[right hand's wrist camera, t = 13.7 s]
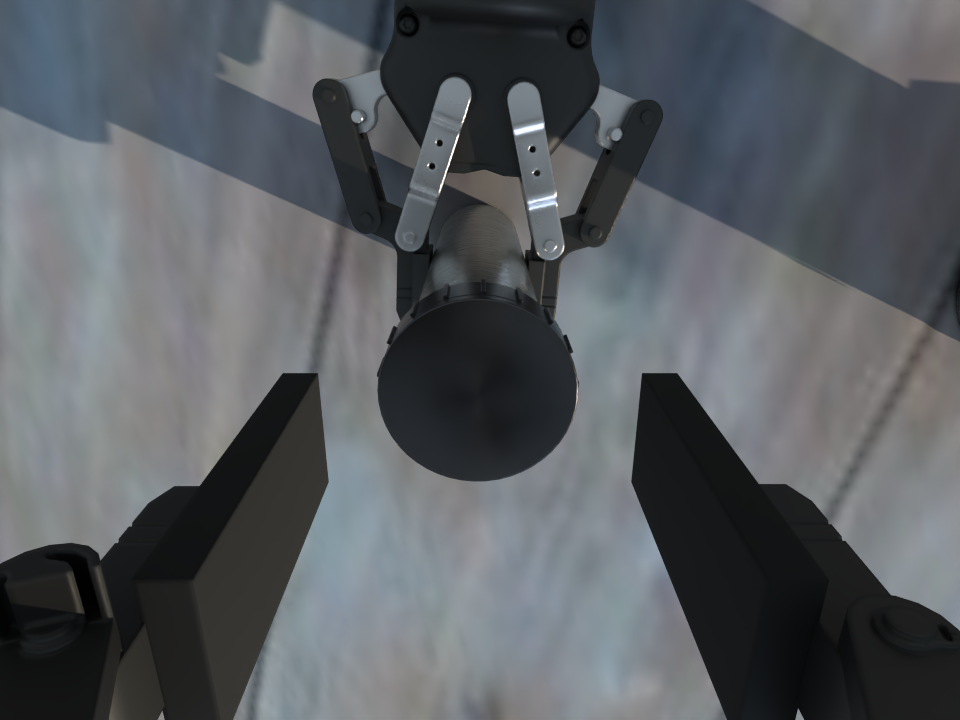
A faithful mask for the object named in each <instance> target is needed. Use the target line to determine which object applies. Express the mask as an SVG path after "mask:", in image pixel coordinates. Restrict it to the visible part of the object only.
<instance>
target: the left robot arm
mask: <svg viewBox="0 0 960 720" xmlns="http://www.w3.org/2000/svg"><path fill="white" fill-rule="evenodd" d="M594 9H595V0H395V6H394V31H393V36H392V40H391V43H390V45H389V48H388V50H387V51H386V53H385V55H384V57H383V59H382V62H381V66H380V69H378V70H375V71H371V72H367V73H364V74H360V75H356V76H353V77H349V78H345V79H342V80H338V79H332V78H330V79H322V80H320V81H319V82H317V83H316V85H315V86H314V89H313V100H314V103H315V106H316V110H317V113H318V116H319V119H320V122H321V125H322V129H323V132H324V135H325V138H326V141H327V144H328V148H329V151H330V154H331V157H332V160H333V164H334V167H335V170H336V173H337V176H338V179H339V183H340V186H341V189H342V192H343V195H344V199H345V202H346V205H347V208H348V211H349V214H350V218H351V221H352V224H353V226H354V227H355V228H356V229H357V230H358V231H359V232H361V233H365V234H369V233H372V234H375V235H377V236H379V237H382V238H384V239H386V240H388V241H389V242H391V243H392V244H393V246H394V247H395V249H396V251H397V306H396V310H397V313H398V316H399V318H400V321H401V320H402V318H403V317H404V316H405V314H406V313H407V312H408V311H409V310H410V309H411V308H412V306H413V303H414V301H416V300H417V301H418V302H419V299H420V296H421V293H422V290H423V286H424V283H425V280H426V277H427V273H428V270H429V267H430V264H431V260H432V257H433V244H429V227H430V224H431V221H432V218H433V215H434V212H435V209H436V206H437V203H438V200H439V197H440V194H441V191H442V188H443V185H444V182H445V179H446V176H447V173H448V172H451V173H469V172H474V171H478V170H488V171H491V172H494V173H497V174H500V175H502V176H511V177H519V181H520V186H521V191H522V196H523V200H524V204H525V209H526V214H527V219H528V225H529V230H530V235H531V239H532V240H531V250H526V252H525V262H526V265H527V269H528V272H529V275H530V279H531V282H532V285H533V289H534V292H535V295H536V299H537V302H538V303H540V304H541V305H542V306H543V307H544V308H546V307H548V308H549V309H550V312H551V315H552V317H553V318H554V320H555V312H556V303H557V294H558V285H559V276H560V267H561V263H562V261H563V259H564V257H565V256H566V255H567V254H569V253H570V252H572V251H575V250H578V249H582V248H585V247H599V246H601V245H603V244H604V243H605V242H606V241H607V240H608V238H609V236H610V233H611V231H612V229H613V227H614V225H615V222H616V220H617V218H618V216H619V214H620V211H621V209H622V207H623V205H624V203H625V201H626V198H627V196H628V194H629V192H630V190H631V187H632V185H633V183H634V181H635V179H636V177H637V174H638V172H639V170H640V168H641V166H642V163H643V161H644V159H645V157H646V155H647V152H648V150H649V148H650V146H651V144H652V142H653V139H654V137H655V135H656V133H657V131H658V128H659V126H660V124H661V122H662V118H663V112H662V109H661V107H660V105H659V104H658V103H657V102H655V101H653V100H635V99H633V98H630V97H628V96H626V95H623V94H621V93H619V92H616V91H614V90H612V89H609V88H607V87H605V86H602V85H600V81H599V74H598V71H597V69H596V66H595V64H594V61H593V56H592V50H591V36H592V27H593V18H594ZM386 95H387V96H388V97H389V99H390V100H391V102H392V103H393V105H394V107H395V108H396V110H397V111H398V113H399V114H400V116H401V118H402V119H403V121H404V122H405V124H406V126H407V127H408V129H409V130H410V132H411V133H412V135H413V137H414V138H415V140H416V141H417V143H418V144H419V146H420V148H421V151H420V154H419V157H418V160H417V163H416V167H415V170H414V173H413V176H412V179H411V182H410V186H409V190H408V194H407V198H406V201H405V204H404V207H403V209H402V208H400V207H398V206H395V205H393V204H391V203H388V202H387V201H386V198H385V194H384V191H383V188H382V184H381V181H380V177H379V174H378V170H377V167H376V164H375V160H374V157H373V153H372V150H371V146H370V143H369V140H368V136H367V133H366V132H368V131H371V130H372V129H373V128H374V127H375V126H376V125H377V122H378V104H379V102H380V100H381V99H382V98H383V97H384V96H386ZM589 109H590V110H591V111H592V112H593V113H594V115H595V117H596V128H595V132H594V136H595V140H596V142H597V143H598V144H599V145H600V146H601V147H603V148H604V149H603V151H602V154H601V156H600V158H599V160H598V163H597V165H596V167H595V170H594V172H593V174H592V177H591V179H590V181H589V184H588V186H587V188H586V191H585V193H584V195H583V197H582V200H581V202H580V204H579V207H578V209H577V211H576V214H574V215H571V216H567V217H564V218H560V216H559V210H558V205H557V193H556V187H555V182H554V176H553V170H552V165H551V159H550V156H551V155H552V153H553V152H554V151H555V150H556V148H557V147H558V146H559V145H560V144H561V142H562V141H563V140H564V139H565V138H566V136H567V135H568V134H569V133H570V132H571V130H572V129H573V128H574V127H575V126H576V124H577V123H578V122H579V121H580V120H581V118H582V117H583V116H584V115H585V113H586V112H587V111H588V110H589ZM957 314H958V319H959V323H960V282H959V286H958V291H957Z"/></svg>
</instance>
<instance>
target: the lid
mask: <svg viewBox="0 0 960 720" xmlns="http://www.w3.org/2000/svg"><path fill="white" fill-rule="evenodd" d="M387 344H389V346H388V348H387V351H386V354H385V356H384V357H383V360H382V362H381V365H380V367H379V370H378V373H377V377H379V378H378V402H379V407H380V411H381V415H382V417H383V420H384V423H385V425H386V427H387V429H388V431H389V433H390V434H391V436H392V438H393V439H394V440H395V442H396V443H397V444H398V446H399V447H400V448H401V449H402V450H403V451H404V452H405V453H406V454H407V455H408V456H409V457H411V458H412V459H413V460H414V461H416V462H417V463H419V464H420V465H422V466H423V467H425V468H427V469H429V470H431V471H433V472H435V473H437V474H440V475H443V476H446V477H449V478H453V479H458V480H464V481H491V480H499V479H503V478H507V477H510V476H513V475H516V474H518V473H521V472H523V471H525V470H527V469H529V468H531V467H533V466H534V465H536V464H537V463H539V462H540V461H542V460H543V459H544V458H545V457H546V456H547V455H549V454H550V453H551V452H552V451H553V450H554V449H555V447H556V446H557V445H558V444H559V443H560V441H561V440H562V438H563V437H564V436H565V434H566V433H567V430H568V428H569V426H570V424H571V422H572V420H573V417H574V414H575V411H576V405H577V400H578V386H579V382H578V379H577V374H576V370H575V366H574V362H573V360H572V357H571V354H570V353H573V350H572V348H571V345H570V342H569V340H568V337H567V335H564V336H563V334H562V331H561V329H560V328H559V326H558V324H557V323H556V321H555V320H554V318H553V317H552V315H551V312H550V309H549V308H548V307H546V308H544V307H543V306H542V305H541V304H540V303H538V302H537V301H535V300H534V299H533V298H531V297H530V296H528V295H526V294H524V293H523V292H521V288H519V287H517V288H516V289H514V288H511V287H508V286H505V285H501V284H497V283H490V282H485V279H481V282H466V283H459V284H455V285H451V286H449V283H448V284H445V286H444V288H442V289H440V290H437V291H435V292H433V293H431V294H430V295H428V296H426V297H425V298H423V299H422V300H420V301H419V302H418V301H417V300H416V301H414V303H413V306H412V308H411V309H410V310H409V311H408V312H407V313H406V314H405V316H404V317H403V318H402V320H401V321H400V322H399V324H398V326H397V327H395V326H393V328H392V330H391V333H390V336H389V338H388V341H387Z"/></svg>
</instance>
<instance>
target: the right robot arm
mask: <svg viewBox="0 0 960 720" xmlns="http://www.w3.org/2000/svg"><path fill="white" fill-rule="evenodd" d="M328 482H329V481H328V471H327V461H326V451H325V441H324V431H323V420H322V410H321V400H320V390H319V380H318V373H283V374H282V375H281V376H280V378H279V379H278V381H277V382H276V383H275V385H274V386H273V387H272V389H271V390H270V391H269V393H268V394H267V395H266V397H265V398H264V400H263V401H262V402H261V404H260V405H259V406H258V408H257V409H256V410H255V412H254V413H253V414H252V416H251V417H250V419H249V420H248V421H247V423H246V424H245V425H244V427H243V428H242V429H241V431H240V432H239V433H238V435H237V436H236V438H235V439H234V440H233V442H232V443H231V444H230V446H229V447H228V448H227V450H226V451H225V453H224V454H223V455H222V457H221V458H220V459H219V461H218V462H217V463H216V465H215V466H214V467H213V469H212V470H211V472H210V473H209V474H208V476H207V477H206V478H205V480H204V481H203V482H202V484H201V485H200V486H174V487H173V488H171V489H169V490H168V491H166V492H165V493H163V494H162V495H160V496H159V497H157V498H156V499H154V500H153V501H151V502H150V503H148V504H147V506H146V507H145V508H144V509H143V510H142V512H141V513H140V514H139V515H138V516H137V518H136V519H135V520H134V521H133V522H132V527H128V528H127V530H126V531H125V532H124V533H123V534H122V536H121V537H120V538H119V542H118V543H115V544H114V545H113V546H112V548H111V549H110V550H109V551H108V552H107V554H106V555H105V556H104V557H103V558H102V560H101V561H100V558H99V554H98V553H97V552H96V551H94V550H93V549H92V548H91V547H89V546H86V545H80V544H74V543H66V544H55V545H48V546H44V547H41V548H37V549H34V550H30V551H27V552H24V553H22V554H20V555H18V556H16V557H13V558H11V559H9V560H7V561H5V562H3V563H1V564H0V720H157V719H158V718H159V716H160V714H161V712H162V710H163V714H164V718H165V720H233V718H234V716H235V713H236V711H237V708H238V706H239V703H240V701H241V698H242V696H243V693H244V691H245V688H246V686H247V683H248V681H249V678H250V676H251V674H252V671H253V669H254V666H255V664H256V661H257V659H258V656H259V654H260V651H261V649H262V646H263V644H264V641H265V639H266V636H267V634H268V631H269V629H270V626H271V624H272V621H273V619H274V616H275V614H276V611H277V609H278V606H279V604H280V601H281V599H282V596H283V594H284V591H285V589H286V587H287V584H288V582H289V579H290V577H291V574H292V572H293V569H294V567H295V564H296V562H297V559H298V557H299V554H300V552H301V549H302V547H303V544H304V542H305V539H306V537H307V534H308V532H309V529H310V527H311V524H312V522H313V519H314V517H315V514H316V512H317V509H318V507H319V505H320V502H321V500H322V497H323V495H324V492H325V490H326V487H327V485H328ZM631 482H632V485H633V487H634V490H635V492H636V495H637V497H638V500H639V502H640V505H641V507H642V509H643V512H644V514H645V517H646V519H647V522H648V524H649V527H650V529H651V532H652V534H653V537H654V539H655V542H656V544H657V547H658V549H659V552H660V554H661V557H662V559H663V562H664V564H665V567H666V569H667V572H668V574H669V577H670V579H671V582H672V584H673V587H674V589H675V591H676V594H677V596H678V599H679V601H680V604H681V606H682V609H683V611H684V614H685V616H686V619H687V621H688V624H689V626H690V629H691V631H692V634H693V636H694V639H695V641H696V644H697V646H698V649H699V651H700V654H701V656H702V659H703V661H704V664H705V666H706V669H707V671H708V674H709V676H710V678H711V681H712V683H713V686H714V688H715V691H716V693H717V696H718V698H719V701H720V703H721V706H722V708H723V711H724V713H725V716H726V718H727V720H795V718H796V714H797V710H798V709H799V710H800V712H801V714H802V716H803V718H804V720H960V631H959V630H958V629H957V628H956V627H955V626H953V625H952V624H951V623H950V622H949V621H947V620H946V619H945V618H944V617H942V616H941V615H940V614H938V613H936V612H934V611H932V610H930V609H928V608H926V607H925V606H923V605H921V604H919V603H916V602H913V601H910V600H907V599H904V598H900V597H897V596H891V595H890V594H889V592H888V591H887V590H886V589H885V588H884V586H883V585H882V584H881V583H880V582H879V580H878V579H877V578H876V577H875V576H874V575H873V573H872V572H871V571H870V570H869V569H868V567H867V566H866V565H865V564H864V563H863V561H862V560H861V559H860V558H859V557H858V555H857V554H856V553H855V552H854V551H853V549H852V548H851V547H850V546H849V545H848V544H847V542H846V541H842V536H841V535H840V534H839V533H838V532H837V530H836V529H835V528H834V527H833V526H832V524H828V520H827V518H826V517H825V516H824V515H823V514H822V513H821V511H820V510H819V509H818V508H817V507H816V505H815V504H814V503H813V502H812V501H811V500H810V499H808V498H806V497H805V496H803V495H802V494H800V493H799V492H797V491H796V490H794V489H793V488H791V487H789V486H788V485H786V484H758V482H757V481H756V480H755V478H754V477H753V476H752V474H751V473H750V472H749V470H748V469H747V467H746V466H745V465H744V463H743V462H742V461H741V459H740V458H739V457H738V455H737V454H736V453H735V451H734V450H733V448H732V447H731V446H730V444H729V443H728V442H727V440H726V439H725V438H724V436H723V435H722V433H721V432H720V431H719V429H718V428H717V427H716V425H715V424H714V423H713V421H712V420H711V419H710V417H709V416H708V414H707V413H706V412H705V410H704V409H703V408H702V406H701V405H700V404H699V402H698V401H697V400H696V398H695V397H694V395H693V394H692V393H691V391H690V390H689V389H688V387H687V386H686V385H685V383H684V382H683V381H682V379H681V378H680V376H679V375H678V374H677V373H642V380H641V390H640V400H639V410H638V420H637V431H636V441H635V451H634V461H633V471H632V481H631Z"/></svg>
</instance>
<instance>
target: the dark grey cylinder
mask: <svg viewBox="0 0 960 720" xmlns="http://www.w3.org/2000/svg"><path fill="white" fill-rule="evenodd" d="M481 279H485V282H490V283H497V284H501V285H505V286H508V287H511V288H514V289H516V288H517V287H519V288H521V292H523V293H524V294H526V295H528V296H530V297H531V298H533V299H534V300H535V301H537V299H536V295H535V292H534V289H533V285H532V282H531V279H530V275H529V272H528V269H527V265H526V262H525V259H524V256H523V252H522V249H521V246H520V242H519V239H518V236H517V232H516V230H515V227H514V225H513V223H512V222H511V220H510V219H509V218H508V217H507V216H506V215H505V214H504V213H503V212H502V211H500V210H498V209H497V208H495V207H492V206H489V205H484V204H473V205H468V206H464V207H462V208H460V209H458V210H457V211H455V212H454V213H453V214H451V215H450V216H449V217H448V219H447V220H446V221H445V223H444V225H443V226H442V229H441V231H440V234H439V238H438V241H437V244H436V247H435V251H434V254H433V257H432V260H431V264H430V267H429V270H428V273H427V277H426V280H425V283H424V286H423V290H422V293H421V296H420V299H419V301H420V300H422V299H423V298H425V297H426V296H428V295H430V294H431V293H433V292H435V291H437V290H440V289H442V288H444V286H445V284H448V283H449V286H451V285H455V284H459V283H466V282H481Z"/></svg>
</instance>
